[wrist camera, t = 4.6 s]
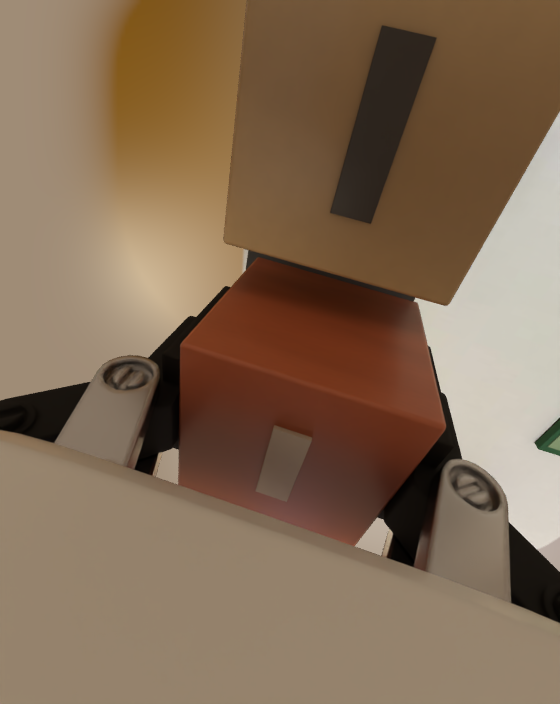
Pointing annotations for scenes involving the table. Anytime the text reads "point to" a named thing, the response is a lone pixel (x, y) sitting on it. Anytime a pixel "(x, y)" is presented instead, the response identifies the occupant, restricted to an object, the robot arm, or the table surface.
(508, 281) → the table surface
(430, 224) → the near dark gray stand
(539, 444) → the green tile rack
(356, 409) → the slotted orange cube
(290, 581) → the robot arm
